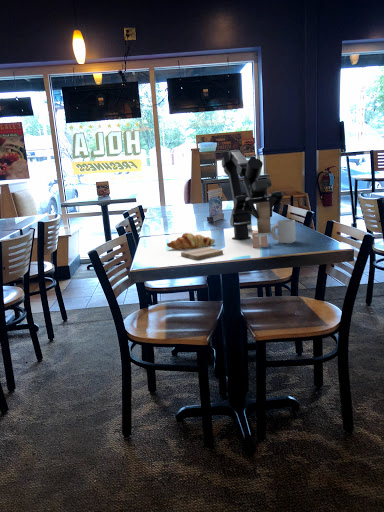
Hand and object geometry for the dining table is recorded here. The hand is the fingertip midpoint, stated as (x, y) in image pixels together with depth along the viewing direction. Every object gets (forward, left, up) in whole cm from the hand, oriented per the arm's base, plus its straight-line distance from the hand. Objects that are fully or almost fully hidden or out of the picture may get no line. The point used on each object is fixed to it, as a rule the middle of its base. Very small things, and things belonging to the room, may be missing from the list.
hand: (264, 217), depth 156 cm
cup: (-8, +17, -14) cm, 23 cm away
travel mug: (-46, +28, -14) cm, 56 cm away
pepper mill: (-1, +1, -7) cm, 7 cm away
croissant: (-35, -12, -14) cm, 40 cm away
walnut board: (-18, -18, -13) cm, 29 cm away
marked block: (-12, +7, -14) cm, 19 cm away
